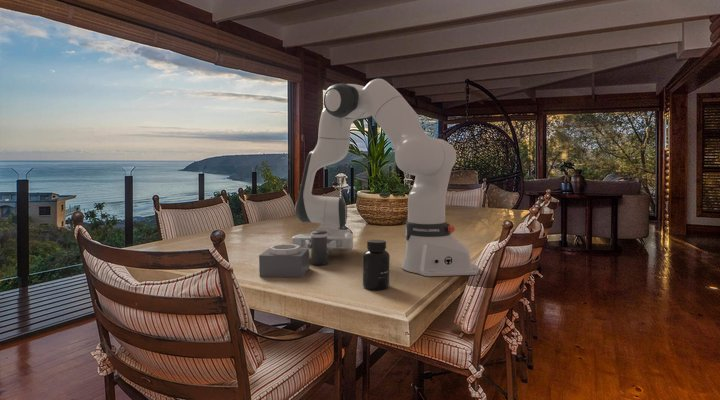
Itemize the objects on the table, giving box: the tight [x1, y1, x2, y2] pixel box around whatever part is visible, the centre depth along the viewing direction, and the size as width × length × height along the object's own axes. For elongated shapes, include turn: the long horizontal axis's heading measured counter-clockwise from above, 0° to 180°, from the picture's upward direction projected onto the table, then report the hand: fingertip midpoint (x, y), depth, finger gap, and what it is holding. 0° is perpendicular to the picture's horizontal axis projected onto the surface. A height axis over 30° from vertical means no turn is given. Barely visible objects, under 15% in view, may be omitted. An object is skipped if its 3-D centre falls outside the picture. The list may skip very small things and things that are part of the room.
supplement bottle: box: [362, 239, 391, 291], centre depth 109 cm, size 7×7×12 cm
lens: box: [310, 230, 328, 266], centre depth 133 cm, size 5×5×10 cm
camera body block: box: [258, 243, 310, 278], centre depth 123 cm, size 12×10×8 cm
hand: (318, 246), depth 132 cm, fingers closed on lens, 5 cm apart
